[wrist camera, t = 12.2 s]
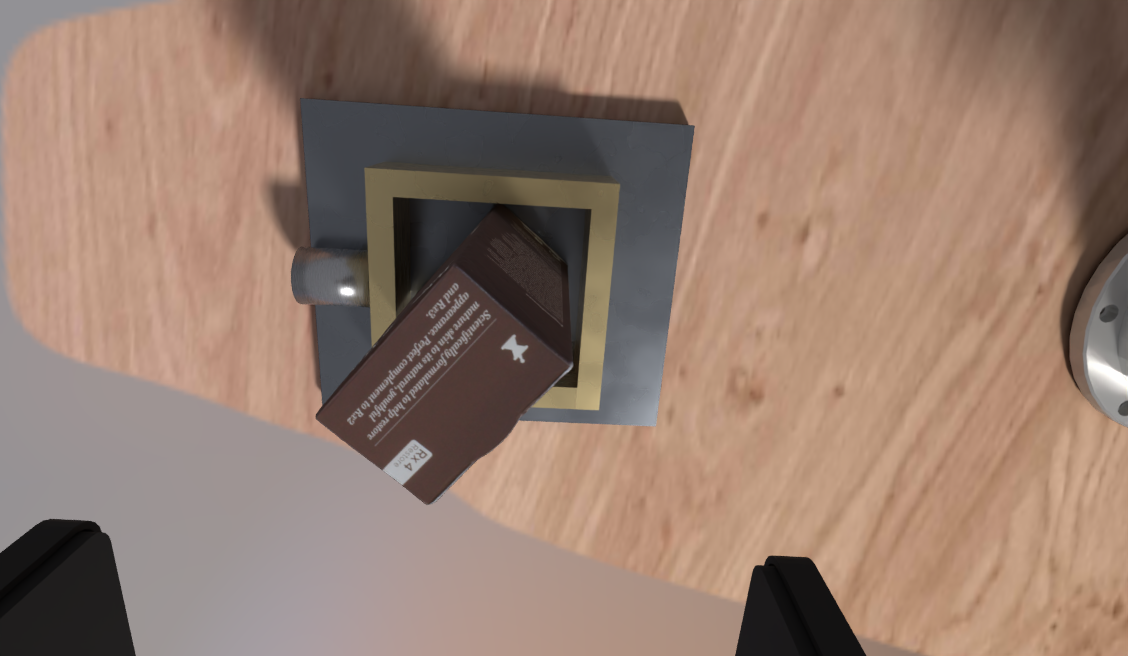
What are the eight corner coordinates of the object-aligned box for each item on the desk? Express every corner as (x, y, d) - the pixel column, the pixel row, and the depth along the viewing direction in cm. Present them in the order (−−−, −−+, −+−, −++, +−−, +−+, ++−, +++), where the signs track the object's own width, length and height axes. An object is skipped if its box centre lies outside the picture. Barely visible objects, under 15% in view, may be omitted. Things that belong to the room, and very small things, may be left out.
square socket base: (689, 125, 26) (713, 127, 22) (652, 416, 31) (667, 459, 27) (309, 98, 25) (268, 96, 22) (329, 402, 30) (299, 444, 26)
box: (493, 193, 26) (455, 256, 15) (570, 265, 27) (589, 374, 16) (404, 293, 27) (304, 422, 16) (480, 357, 28) (438, 520, 17)
